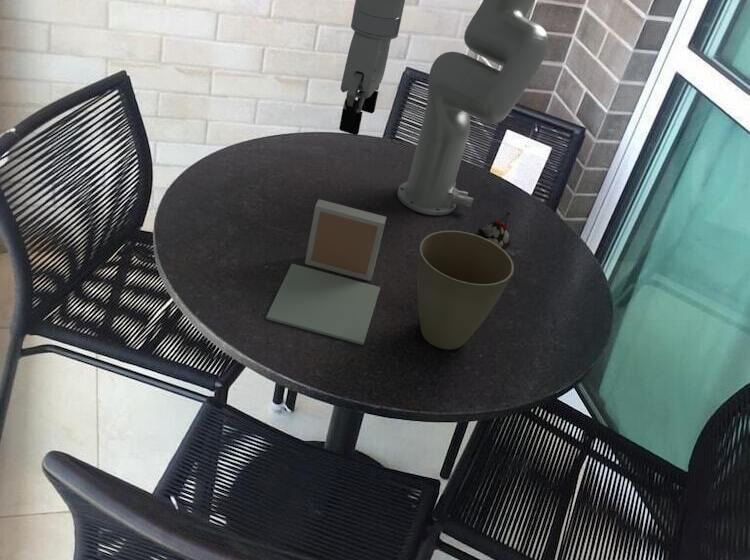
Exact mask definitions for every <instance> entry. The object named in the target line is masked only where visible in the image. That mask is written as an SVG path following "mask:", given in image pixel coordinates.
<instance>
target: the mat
mask: <svg viewBox="0 0 750 560" xmlns="http://www.w3.org/2000/svg"><path fill="white" fill-rule="evenodd" d="M380 290H381V286H377V285H374V284H370V283H366V282H363V281H358V280H355V279H351V278H347V277H343V276H340V275H337V274H332V273H328V272H325V271H322V270H317V269H314V268H311V267H306V266H303V265H298V264H295V263H291V264H290V267H289V269H288V271H287V273H286V275H285V277H284V279H283V281H282V283H281V284H280V287H279V289H278V291H277V294H276V296H275V297H274V299H273V302H272V304H271V306H270V308H269V310H268V312H267V314H266V316H265V319H266V320H268V321H272V322H276V323H280V324H283V325H287V326H290V327H295V328H298V329H302V330H306V331H309V332H312V333H316V334H321V335H324V336H329V337H331V338H334V339H335V338H336V339H339V340H343V341H346V342H349V343H354V344H357V345H361V346H364V345H365V340H366V337H367V335H368V331H369V329H370V328H369V327H370V323H371V321H372V317H373V315H374V311H375V307H376V304H377V300H378V297H379V294H380Z"/></svg>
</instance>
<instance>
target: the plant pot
mask: <svg viewBox="0 0 750 560" xmlns="http://www.w3.org/2000/svg"><path fill="white" fill-rule="evenodd" d="M514 266H515V265H514V262H513V260H512V258H511V257H510V255H509V254H508V253H507V252H506V250H503V249H502V248H501V247H499V246H498V245H496V244H495V243H493V242H491V241H490V240H488V239H485V238H483V237H481V236H478V235H475V233H470V232H466V231H461V230H460V231H459V230H439V231H436V232H433V233H430V234H428V235H426V236H425V237H424V238H423V239H422V240H421V242H420V244H419V251H418V261H417V275H416V278H417V280H416V287H417V290H416V291H417V294H416V295H417V296H416V297H417V311H418V317H419V324H420V325H419V326H420V331H421V335H422V337H423V338H424V340H425V341H426V342H427V343H429V345H432V346H433V347H436V348H439V349H443V350H455V349H459V348H461V347H463V345H464V344H466V342H467V341H468V340H470V338H471V337H472V336H473V335H474V333H475V332H476V331H477V330H478V329H479V327H480V326H481V325H482V324H483V323H484V321H485V320H486V318H487V317H488V315H489V314H490V313H491V312H492V310H493V308H494V307H495V306H496V304H497V303H498V300H499V299H500V297H501V295H502V294H503V292H504V291H505V289H506V287H507V285H508V283H509V282H510V280H511V278H512V277H513V274H514V269H515V267H514Z"/></svg>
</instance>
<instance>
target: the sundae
mask: <svg viewBox="0 0 750 560" xmlns="http://www.w3.org/2000/svg"><path fill="white" fill-rule="evenodd" d="M510 215H511V212H506V215H505V216H504V217H503V218H502V219H495V220H494V221H493V222H489V223H488V224H486V225H485V227H482V228H481V227H478V228H477V230H476V231H475V233H474V234H475V235H478V236H481V237H483V238H485V239H488V240H490V241H491V242H493V243H495V244H496V245H498V246H499V247H501V248H502V249H503V250H504V251H506V250H507V249H509V247H511V246H512V244H513V242H512V240H511V239H510V236H509V232H508V231H507V229H508V225H507V222H508V221H507V220H508V217H509V216H510ZM504 219H505V223H502V221H503V220H504Z"/></svg>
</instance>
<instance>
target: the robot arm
mask: <svg viewBox="0 0 750 560" xmlns="http://www.w3.org/2000/svg"><path fill="white" fill-rule="evenodd" d="M405 1H406V0H355V2H354V5H353V7H354V8H353V13H352V17H351V22H350V23H351V24H350V27H351V29H352V31H354V32H353V35H352V39H351V42H350V45H349V49H348V53H347V57H346V62H345V65H344V66H345V67H344V71H343V75H342V80H341V84H340V91H341V92H342V93H346V97H345V99H344V104H343V105H342V112H341V117H340V122H339V128H338V129H339V131H341V132H344V133H348V134H351V135H354V136H357V135H358V134H360V127H361V124H362V118H363V112H365V113H369V114H374V113H375V111H376V110H375V109H376V106H377V105H376V104H377V102H378V101H377V99H378V95H379V91H378V90H379V87H380V84H381V83H382V80H383V78H384V75H385V72H386V71H385V70H386V67H387V61H388V57H389V52H390V45H391V42H392V40H393V39H396V38H398V36H399V32H400V26H401V22H402V17H403V12H404V8H405ZM535 2H536V0H483V1H482V3H481V4H480V5H479V7H478V8H477V10H476V11H475V13H474V15H473V17H472V18H471V19H470V21H469V23H468V25H467V26H466V29H465V32H464V36H463V39H464V43H465V45H466V47H467V48H468V49H469V50H470V51H471V52H473V53H474V54H475V55H479V56H480V57H482V58H484V59H486V60H488V61H490V62H492V63H494V64H497V65H499V66H501V67H502V68H501V70H499V69H497V68H495V67H493V66H490V65H488V64H486V63H485V62H482V61H480V60H478V59H477V58H474V57H472V56H470V55H467V54H465V53H461V52H458V51H447V52H443V53H442V54H440V55H439V56H437V57H436V58H435V60H434V61H433V63H432V65H431V67H430V71H429V75H428V83H427V99H426V105H425V106H426V107H425V112H424V116H423V120H422V124H421V127H420V132H419V136H418V140H417V144H416V147H415V151H414V155H413V159H412V163H411V167H410V171H409V175H408V179H407V181H405V182H402V183H401V184H400V185H399V187H398V189H397V193H396V194H397V198H398V200H399V201H400V202H401V203H402V204H403V205H404V206H406V207H407V208H408V209H410V210H413V211H415V212H417V213H420V214H423V215H429V216H444V215H449V214H450V213H452V212H454V211H455V209H456V205H457V204H460V205H462V206H466V207H470V208H471V207H472V204H473V200H474V197H472V196H471V197H470V196H468V194H469V192H468V191H464V190H460V189H458V188H457V187H456V185H457V181H456V180H457V177H458V173H459V171H460V170H459V169H460V166H461V162H462V159H463V156H464V153H465V149H466V146H467V141H468V140H469V139H468V138H469V135H470V131H471V117H470V116H473V117H475V118H476V119H479V120H481V121H482V122H485V123H488V124H490V125H492V124H494V125H495V124H499V123H500V122H502V121H504V120H505V119H506V117H508V115H509V114H510V113H511V112H512V111H513V108H514V107H515V105H516V104H517V103H518V101H519V99H520V98H521V96H522V95H523V93H524V91H525V90H526V89H527V87H528V85H529V84H530V82H531V81H532V79H533V77H534V76H535V74H536V73H537V71H538V69H539V68H540V66H541V65H542V63H543V61H544V59H545V56H546V54H547V49H548V47H549V46H548V45H549V36H548V33H547V31H546V29H545V28H544V27H543V26H542V25H541V24H539V23H537V22H534V21H533V20H531V19H528V18H526V17H527V16H528V14H529V12H530V10H531V8H532V7H533V5H534V3H535Z"/></svg>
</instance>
